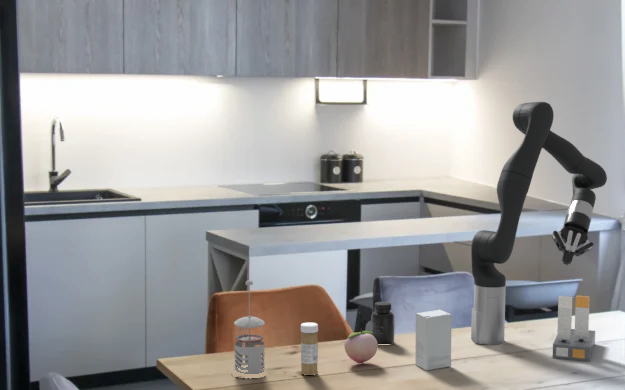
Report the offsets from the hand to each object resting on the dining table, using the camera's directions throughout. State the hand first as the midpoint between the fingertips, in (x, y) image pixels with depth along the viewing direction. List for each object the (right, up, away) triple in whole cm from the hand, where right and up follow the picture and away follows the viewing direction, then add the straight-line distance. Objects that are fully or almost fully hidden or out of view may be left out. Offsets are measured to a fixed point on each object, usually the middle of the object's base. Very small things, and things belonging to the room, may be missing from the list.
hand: (566, 263), depth 278 cm
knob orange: (0, -20, -14) cm, 25 cm away
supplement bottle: (-55, -24, -3) cm, 60 cm away
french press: (-93, -27, -33) cm, 102 cm away
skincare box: (-44, -26, -27) cm, 57 cm away
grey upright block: (-5, -20, -15) cm, 26 cm away
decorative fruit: (-63, -26, -25) cm, 72 cm away
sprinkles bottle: (-77, -27, -34) cm, 88 cm away
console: (-1, -25, -10) cm, 27 cm away
